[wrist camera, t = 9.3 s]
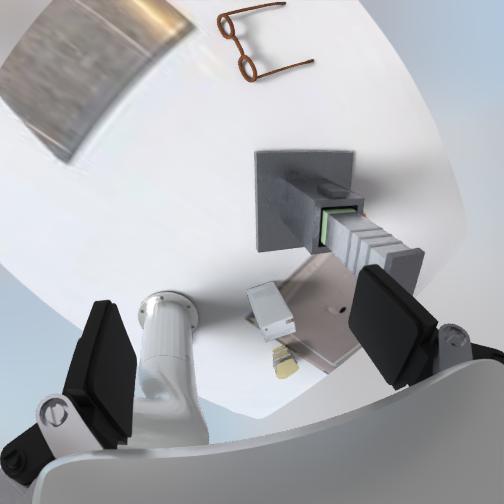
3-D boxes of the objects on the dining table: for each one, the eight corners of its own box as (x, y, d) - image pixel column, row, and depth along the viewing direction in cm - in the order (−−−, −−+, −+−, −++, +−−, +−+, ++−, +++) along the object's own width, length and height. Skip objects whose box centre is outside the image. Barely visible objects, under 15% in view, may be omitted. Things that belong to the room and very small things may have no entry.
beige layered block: (257, 349, 66) (263, 365, 61) (291, 335, 66) (298, 350, 61) (270, 370, 71) (275, 385, 66) (300, 357, 71) (307, 372, 66)
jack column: (332, 228, 46) (411, 299, 27) (306, 230, 45) (379, 309, 26) (334, 193, 43) (425, 252, 25) (308, 195, 42) (392, 258, 24)
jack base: (341, 238, 56) (377, 271, 44) (256, 249, 53) (277, 288, 41) (348, 151, 48) (393, 165, 36) (254, 151, 45) (278, 164, 33)
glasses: (214, 21, 33) (217, 11, 29) (284, 2, 33) (293, -8, 29) (246, 85, 40) (253, 81, 35) (314, 62, 39) (326, 57, 35)
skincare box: (250, 304, 58) (264, 344, 48) (245, 288, 56) (259, 327, 46) (278, 295, 59) (297, 333, 48) (274, 278, 57) (293, 316, 46)
